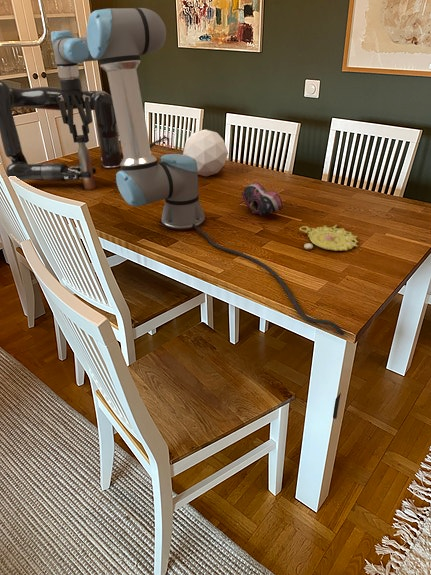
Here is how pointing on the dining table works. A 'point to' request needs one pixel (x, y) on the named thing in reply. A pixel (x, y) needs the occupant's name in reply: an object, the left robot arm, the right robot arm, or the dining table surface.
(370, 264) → the dining table surface
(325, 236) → the decorative object
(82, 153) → the bottle
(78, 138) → the cap
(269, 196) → the athletic shoe
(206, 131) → the sphere
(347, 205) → the dining table surface
